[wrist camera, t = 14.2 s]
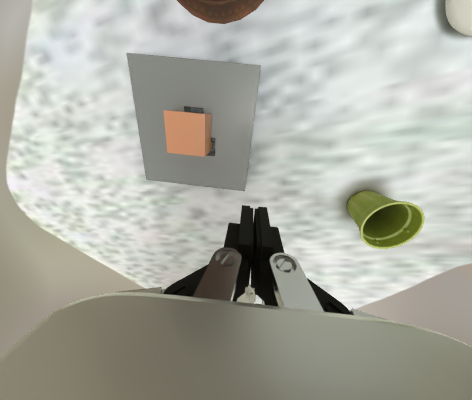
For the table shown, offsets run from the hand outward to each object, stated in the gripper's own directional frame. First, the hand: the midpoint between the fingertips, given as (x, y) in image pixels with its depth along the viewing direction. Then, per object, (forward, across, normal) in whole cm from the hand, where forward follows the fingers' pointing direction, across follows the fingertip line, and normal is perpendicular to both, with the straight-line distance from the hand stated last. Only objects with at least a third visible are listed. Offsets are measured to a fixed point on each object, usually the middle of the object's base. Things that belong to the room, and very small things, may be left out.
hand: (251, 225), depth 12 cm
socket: (+24, +10, -4) cm, 27 cm away
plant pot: (+25, -24, +8) cm, 36 cm away
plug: (+24, +10, -4) cm, 26 cm away
